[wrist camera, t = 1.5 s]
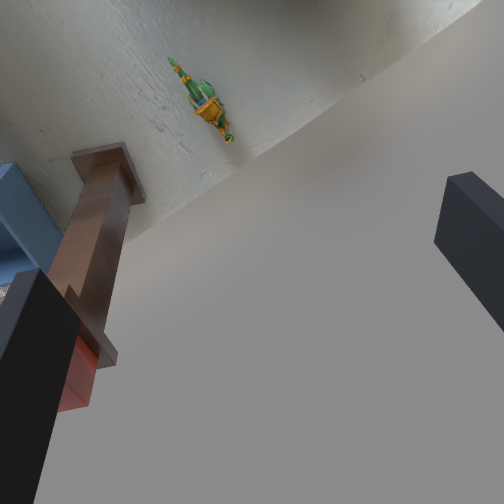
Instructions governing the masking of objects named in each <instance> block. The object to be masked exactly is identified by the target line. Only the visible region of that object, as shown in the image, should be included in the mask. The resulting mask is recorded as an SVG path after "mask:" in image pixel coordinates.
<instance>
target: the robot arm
mask: <svg viewBox="0 0 504 504" xmlns="http://www.w3.org/2000/svg"><path fill="white" fill-rule="evenodd" d="M434 243H435V244H436V246H437V247H438V248H439V250H440V251H441V252H442V254H444V256H445V257H446V259H448V261H449V262H450V264H451V265H452V266H453V268H454V269H455V270H456V271H457V273H458V274H459V275H460V276H461V278H462V279H463V280H464V282H465V283H466V284H467V285H468V287H469V288H470V289H471V291H472V292H473V293H474V294H475V296H476V297H477V298H478V300H479V301H480V302H481V303H482V305H483V306H484V307H485V308H486V310H487V311H488V312H489V314H490V315H491V316H492V317H493V319H494V320H495V321H496V322H497V324H498V325H499V326H500V328H501V329H502V330H503V331H504V198H502V197H501V196H500V195H499V194H498V193H497V192H495V191H494V190H493V189H492V188H491V187H490V186H488V185H487V184H486V183H485V182H484V181H482V180H481V179H480V178H479V177H478V176H477V175H476V174H474V173H473V172H467V173H463V174H458V175H454V176H449V177H448V178H447V183H446V187H445V192H444V197H443V201H442V206H441V211H440V217H439V220H438V225H437V230H436V234H435V239H434ZM81 321H82V320H81V318H80V317H79V316H78V315H77V313H76V312H75V311H74V310H73V308H72V307H71V306H70V305H69V303H68V302H67V301H66V300H65V298H64V297H63V296H62V295H61V293H60V292H59V291H58V290H57V288H56V287H55V286H54V285H53V283H52V282H51V281H50V280H49V278H48V277H47V276H46V275H45V273H44V272H43V271H42V270H41V268H37V269H32V270H28V271H23V272H19V273H16V275H15V277H14V279H13V281H12V283H11V285H10V288H9V290H8V292H7V294H6V296H5V298H4V300H3V302H2V304H1V306H0V504H33V502H34V499H35V495H36V491H37V487H38V484H39V480H40V476H41V472H42V468H43V465H44V461H45V457H46V453H47V449H48V446H49V442H50V438H51V434H52V430H53V427H54V423H55V419H56V415H57V412H58V408H59V404H60V400H61V396H62V393H63V389H64V385H65V381H66V377H67V374H68V370H69V366H70V362H71V358H72V355H73V351H74V347H75V343H76V339H77V336H78V332H79V328H80V324H81Z"/></svg>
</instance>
